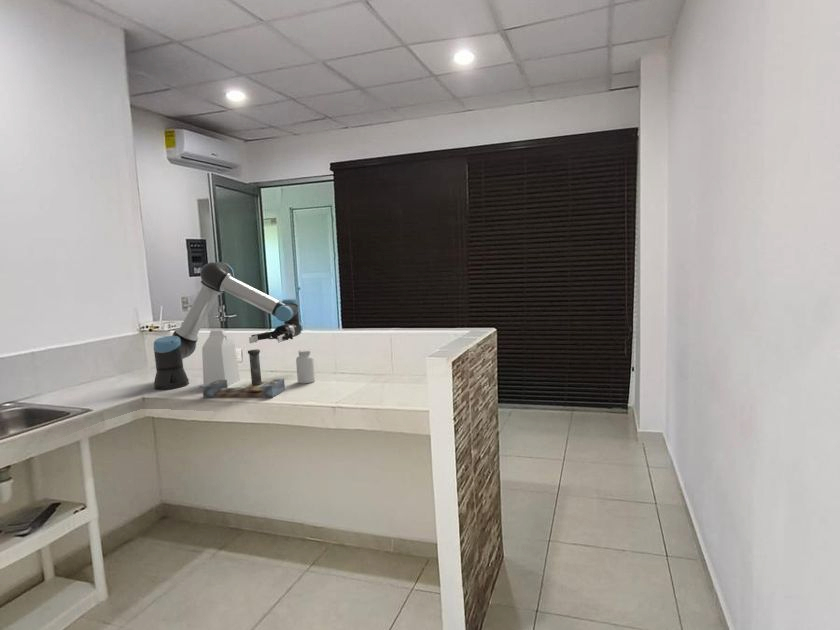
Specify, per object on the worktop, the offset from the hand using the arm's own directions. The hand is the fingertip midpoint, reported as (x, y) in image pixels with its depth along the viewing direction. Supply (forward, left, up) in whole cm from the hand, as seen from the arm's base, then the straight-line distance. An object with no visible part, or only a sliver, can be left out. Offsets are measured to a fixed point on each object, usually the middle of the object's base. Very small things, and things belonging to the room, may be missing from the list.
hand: (264, 340), depth 228 cm
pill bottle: (+14, +11, -22) cm, 29 cm away
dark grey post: (0, -10, -20) cm, 23 cm away
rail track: (-6, -10, -22) cm, 25 cm away
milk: (-28, +9, -22) cm, 37 cm away
